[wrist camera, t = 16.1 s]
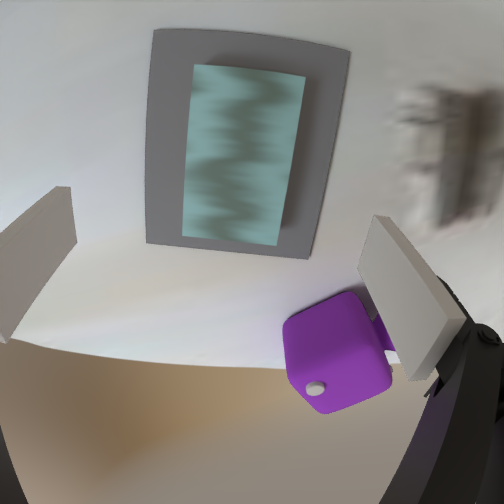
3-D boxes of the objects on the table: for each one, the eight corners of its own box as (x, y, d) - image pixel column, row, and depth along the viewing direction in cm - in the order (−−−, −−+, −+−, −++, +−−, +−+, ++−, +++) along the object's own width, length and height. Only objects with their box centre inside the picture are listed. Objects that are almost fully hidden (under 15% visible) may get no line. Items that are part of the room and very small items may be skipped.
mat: (147, 240, 31) (146, 243, 31) (155, 30, 21) (153, 30, 21) (307, 257, 32) (308, 259, 32) (347, 51, 22) (349, 51, 22)
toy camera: (407, 311, 37) (437, 371, 28) (320, 366, 41) (331, 429, 33) (366, 256, 32) (400, 321, 24) (267, 325, 37) (272, 396, 29)
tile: (182, 235, 27) (194, 64, 20) (188, 220, 30) (200, 65, 23) (276, 245, 28) (305, 77, 21) (274, 229, 30) (299, 77, 23)
